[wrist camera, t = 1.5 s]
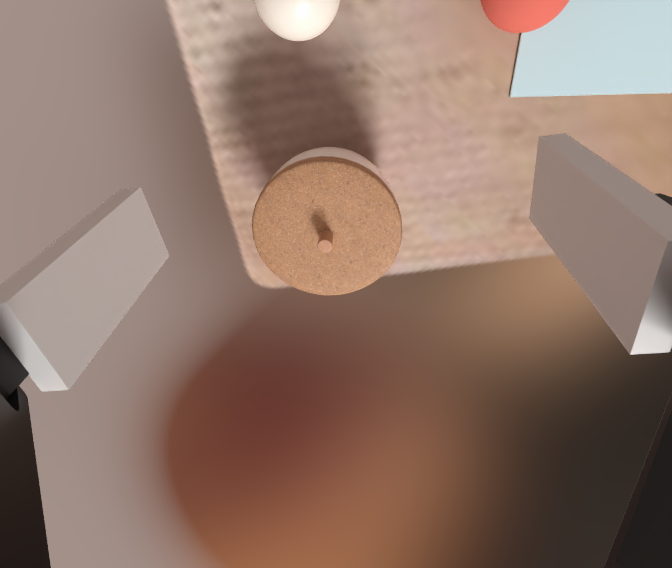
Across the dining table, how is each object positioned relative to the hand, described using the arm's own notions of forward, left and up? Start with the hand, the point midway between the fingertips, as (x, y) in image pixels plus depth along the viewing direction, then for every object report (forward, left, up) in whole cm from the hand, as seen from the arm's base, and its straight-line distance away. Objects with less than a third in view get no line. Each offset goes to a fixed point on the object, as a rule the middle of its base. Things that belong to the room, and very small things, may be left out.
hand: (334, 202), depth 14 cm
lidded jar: (+8, -3, -21) cm, 23 cm away
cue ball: (-7, -2, -18) cm, 20 cm away
